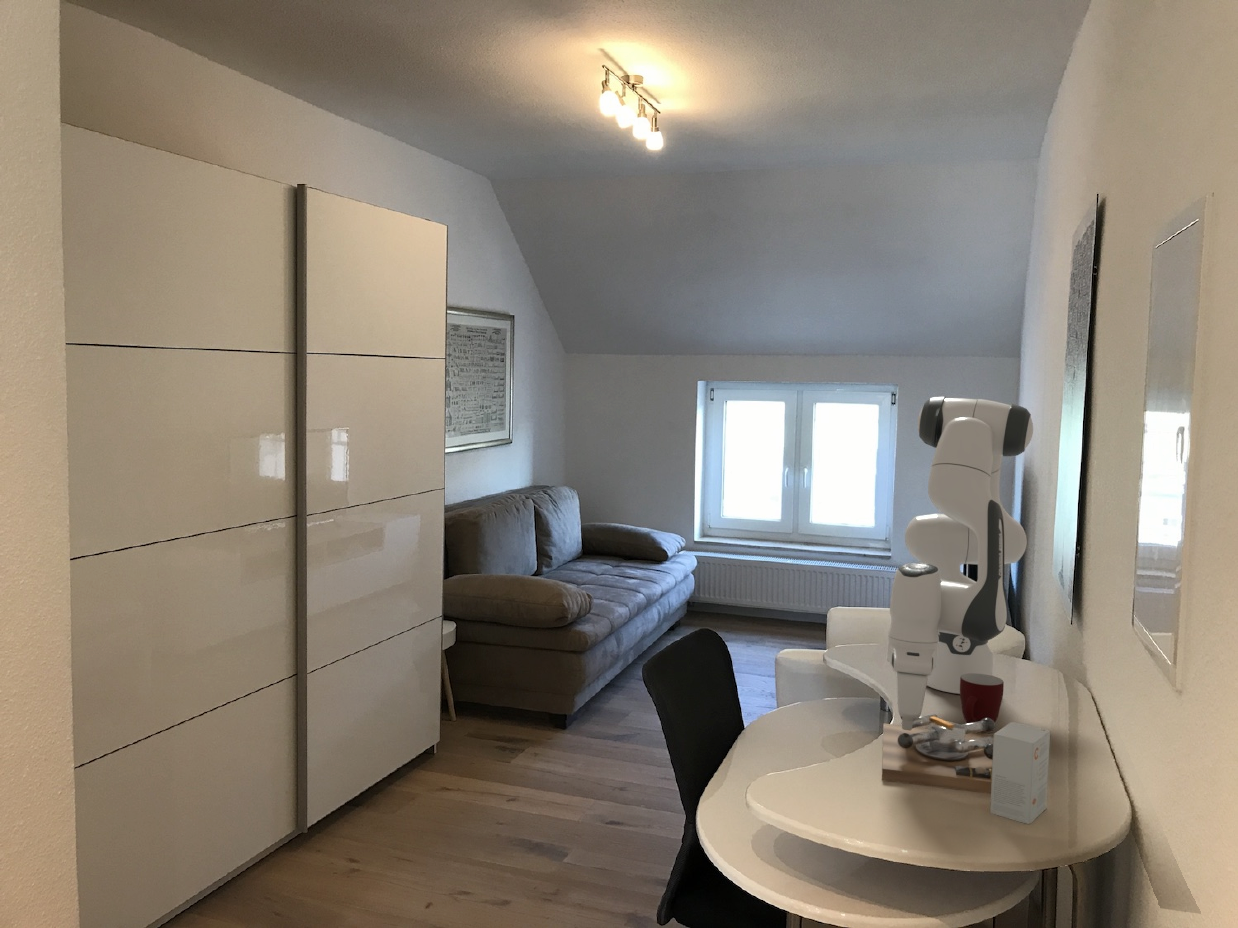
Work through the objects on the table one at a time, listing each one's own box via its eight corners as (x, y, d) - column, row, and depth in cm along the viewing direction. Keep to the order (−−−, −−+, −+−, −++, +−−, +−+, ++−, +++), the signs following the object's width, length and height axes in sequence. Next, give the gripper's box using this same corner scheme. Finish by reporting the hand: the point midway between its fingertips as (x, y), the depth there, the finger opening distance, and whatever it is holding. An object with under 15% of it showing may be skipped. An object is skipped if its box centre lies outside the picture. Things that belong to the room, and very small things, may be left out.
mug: (993, 742, 188) (996, 691, 188) (950, 733, 193) (952, 683, 192) (1004, 727, 197) (1007, 677, 197) (963, 718, 202) (965, 670, 201)
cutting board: (883, 733, 192) (883, 715, 192) (1003, 746, 186) (1004, 728, 186) (881, 779, 169) (882, 759, 169) (1019, 796, 163) (1021, 776, 163)
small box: (1006, 797, 163) (1011, 720, 162) (1047, 809, 159) (1051, 729, 158) (988, 813, 157) (992, 732, 156) (1029, 825, 153) (1034, 742, 152)
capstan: (945, 722, 193) (946, 697, 192) (1042, 762, 173) (1044, 734, 172) (855, 739, 182) (856, 712, 182) (947, 783, 162) (949, 754, 162)
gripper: (894, 640, 190) (889, 711, 191) (894, 663, 171) (888, 742, 171) (928, 643, 189) (923, 715, 189) (932, 668, 169) (926, 747, 169)
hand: (906, 728), depth 180 cm, fingers closed, pressing on capstan
